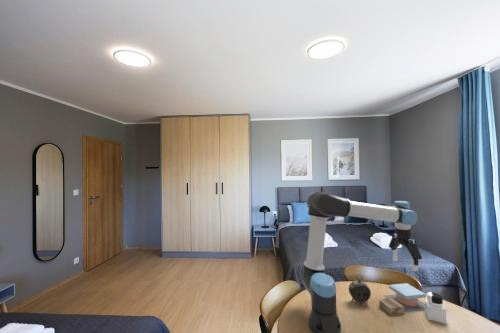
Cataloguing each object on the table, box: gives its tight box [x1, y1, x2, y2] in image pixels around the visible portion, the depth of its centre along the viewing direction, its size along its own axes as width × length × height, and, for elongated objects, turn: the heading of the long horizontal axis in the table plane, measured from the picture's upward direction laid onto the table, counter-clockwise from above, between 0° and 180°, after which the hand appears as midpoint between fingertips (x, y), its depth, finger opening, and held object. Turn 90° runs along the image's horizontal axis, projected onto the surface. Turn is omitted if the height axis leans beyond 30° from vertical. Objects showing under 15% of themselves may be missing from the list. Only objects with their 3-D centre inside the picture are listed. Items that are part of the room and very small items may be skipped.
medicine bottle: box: [424, 291, 448, 325], centre depth 110 cm, size 7×7×12 cm
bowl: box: [395, 292, 419, 307], centre depth 124 cm, size 10×10×5 cm
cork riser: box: [378, 298, 405, 316], centre depth 117 cm, size 8×8×4 cm
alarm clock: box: [348, 274, 372, 306], centre depth 125 cm, size 11×5×16 cm, turn 83°
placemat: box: [384, 293, 426, 313], centre depth 124 cm, size 16×16×1 cm
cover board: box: [388, 282, 427, 299], centre depth 124 cm, size 12×12×2 cm
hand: (404, 265), depth 124 cm, fingers open, 13 cm apart
